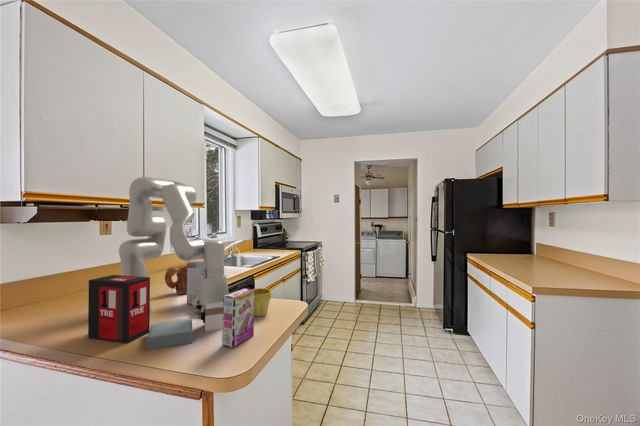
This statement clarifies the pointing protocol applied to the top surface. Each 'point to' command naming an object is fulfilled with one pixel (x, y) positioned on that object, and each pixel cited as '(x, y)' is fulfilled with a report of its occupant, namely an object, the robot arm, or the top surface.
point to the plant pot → (261, 301)
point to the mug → (181, 279)
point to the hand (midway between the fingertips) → (213, 319)
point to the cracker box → (193, 279)
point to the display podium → (169, 334)
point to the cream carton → (213, 316)
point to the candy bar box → (238, 317)
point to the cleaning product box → (118, 308)
